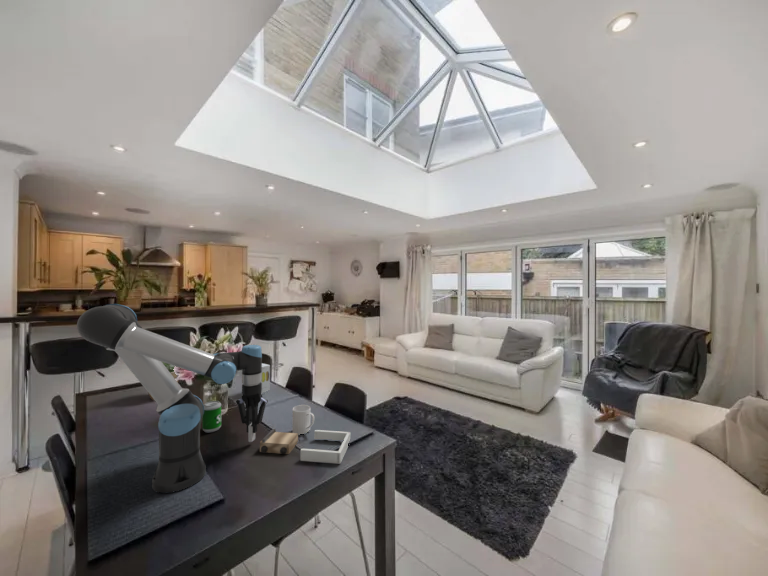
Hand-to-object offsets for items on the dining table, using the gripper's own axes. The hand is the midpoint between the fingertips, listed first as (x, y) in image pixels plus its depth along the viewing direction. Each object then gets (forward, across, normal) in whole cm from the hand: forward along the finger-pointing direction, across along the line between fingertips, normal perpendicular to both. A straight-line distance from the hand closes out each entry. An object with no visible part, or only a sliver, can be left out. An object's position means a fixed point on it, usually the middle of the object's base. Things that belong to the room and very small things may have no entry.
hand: (251, 440), depth 127 cm
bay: (+2, -32, 0) cm, 32 cm away
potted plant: (+2, +81, -44) cm, 92 cm away
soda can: (+2, +25, -10) cm, 27 cm away
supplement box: (+2, +29, -58) cm, 65 cm away
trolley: (+2, -12, 0) cm, 12 cm away
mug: (+2, -18, -13) cm, 22 cm away
